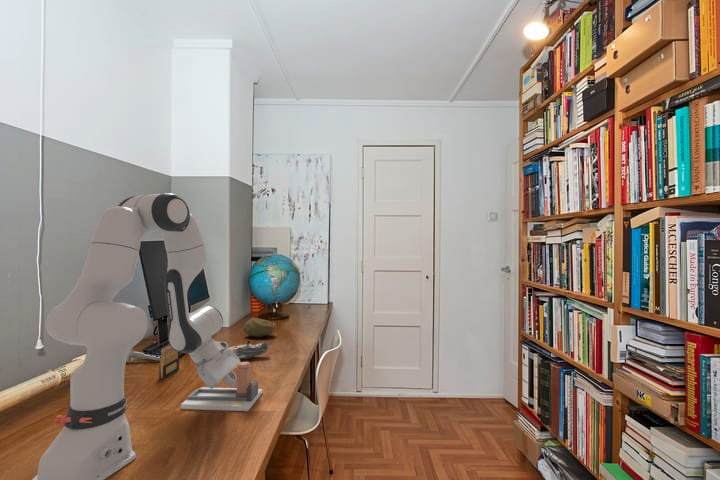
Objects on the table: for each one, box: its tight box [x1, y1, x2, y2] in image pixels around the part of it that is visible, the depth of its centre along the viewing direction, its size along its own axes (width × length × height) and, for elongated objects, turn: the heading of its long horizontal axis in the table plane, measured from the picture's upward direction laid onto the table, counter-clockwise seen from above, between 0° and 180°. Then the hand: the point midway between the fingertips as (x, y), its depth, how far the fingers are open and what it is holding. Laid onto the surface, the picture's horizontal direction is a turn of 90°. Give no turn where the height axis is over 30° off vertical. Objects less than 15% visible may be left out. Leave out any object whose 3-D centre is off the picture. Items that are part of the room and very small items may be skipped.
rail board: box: [180, 380, 263, 412], centre depth 131 cm, size 14×22×6 cm, turn 86°
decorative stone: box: [242, 317, 275, 338], centre depth 214 cm, size 17×11×10 cm, turn 83°
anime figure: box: [227, 340, 269, 360], centre depth 176 cm, size 10×7×30 cm
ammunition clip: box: [158, 344, 180, 380], centre depth 156 cm, size 11×2×12 cm, turn 174°
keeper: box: [236, 361, 252, 397], centre depth 130 cm, size 4×4×11 cm
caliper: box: [126, 348, 161, 363], centre depth 171 cm, size 20×1×6 cm, turn 93°
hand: (237, 385), depth 131 cm, fingers closed, pressing on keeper
